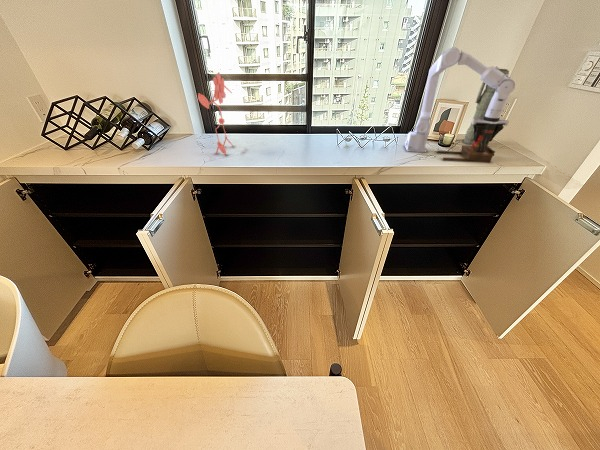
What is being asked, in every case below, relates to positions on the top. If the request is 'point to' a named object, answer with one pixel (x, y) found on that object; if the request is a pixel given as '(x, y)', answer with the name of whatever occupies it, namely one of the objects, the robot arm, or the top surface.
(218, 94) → the figurine
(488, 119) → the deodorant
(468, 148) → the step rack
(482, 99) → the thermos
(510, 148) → the top surface
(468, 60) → the robot arm
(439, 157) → the top surface
